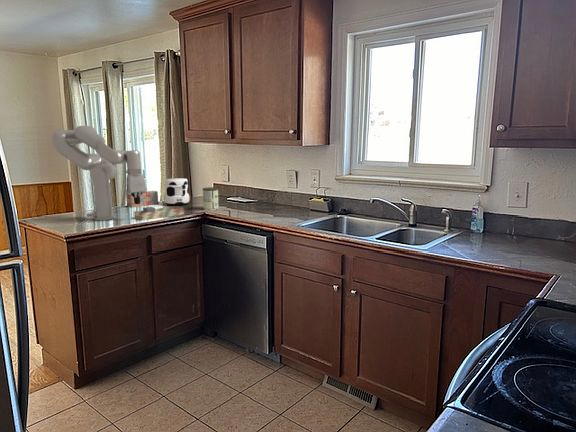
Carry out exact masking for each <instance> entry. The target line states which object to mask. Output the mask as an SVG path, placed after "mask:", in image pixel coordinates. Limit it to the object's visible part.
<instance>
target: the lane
mask: <svg viewBox="0 0 576 432" xmlns="http://www.w3.org/2000/svg"><path fill="white" fill-rule="evenodd" d="M182 215H185V208H184V207H180V206H178V205H173V206H167V207H166V206H165V207H158V208H155V212H147V213H143V209H142V210H134V211H133V216H134V219H136V220H139V221H148V220H153V219H155V220H156V219H161V218H166V217H174V216H182Z"/></svg>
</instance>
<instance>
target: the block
mask: <svg viewBox="0 0 576 432" xmlns="http://www.w3.org/2000/svg"><path fill="white" fill-rule="evenodd" d="M155 209H156V208H155V207H153V206H144V207H142V210H143V213H147V212H155Z"/></svg>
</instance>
